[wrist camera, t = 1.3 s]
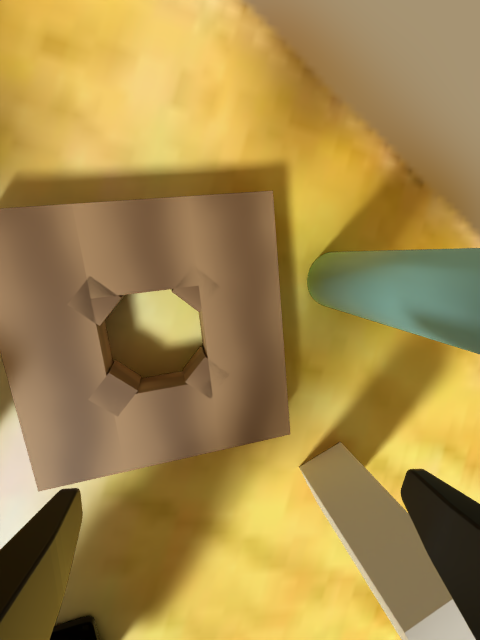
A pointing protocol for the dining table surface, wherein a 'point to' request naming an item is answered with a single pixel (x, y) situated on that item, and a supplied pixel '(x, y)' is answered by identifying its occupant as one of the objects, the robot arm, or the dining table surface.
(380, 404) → the dining table surface
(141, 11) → the dining table surface
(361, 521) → the square dowel
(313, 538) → the dining table surface
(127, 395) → the socket board
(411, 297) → the round dowel
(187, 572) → the dining table surface
